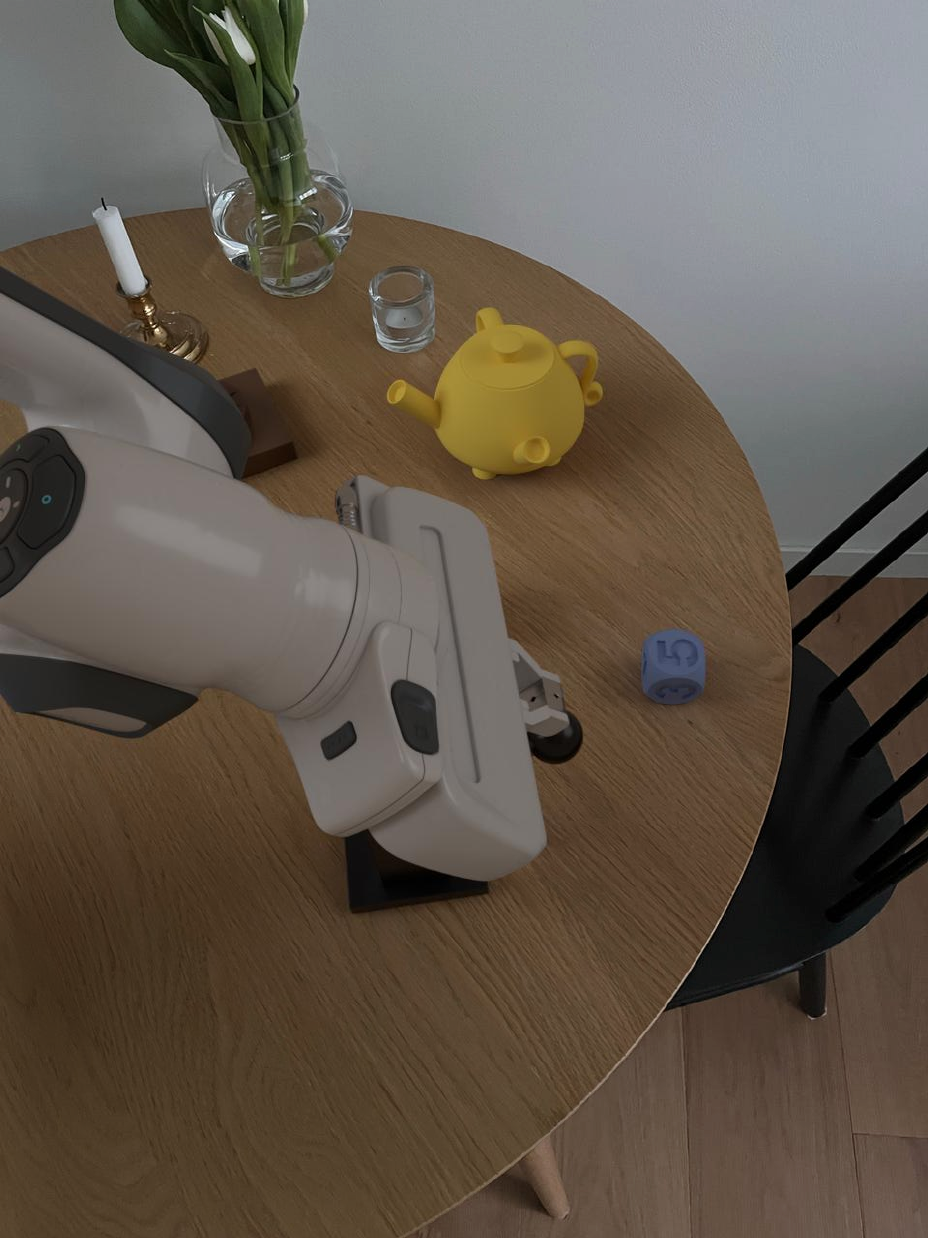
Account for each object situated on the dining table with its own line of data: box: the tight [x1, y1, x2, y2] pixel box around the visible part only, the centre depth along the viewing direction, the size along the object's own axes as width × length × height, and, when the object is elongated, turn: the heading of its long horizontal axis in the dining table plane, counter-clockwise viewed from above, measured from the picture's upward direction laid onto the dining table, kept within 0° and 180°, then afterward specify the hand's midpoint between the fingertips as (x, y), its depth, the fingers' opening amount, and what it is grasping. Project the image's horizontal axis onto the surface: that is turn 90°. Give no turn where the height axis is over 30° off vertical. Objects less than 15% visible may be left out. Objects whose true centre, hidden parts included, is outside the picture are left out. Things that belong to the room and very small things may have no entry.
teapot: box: [386, 306, 604, 481], centre depth 86 cm, size 14×14×11 cm
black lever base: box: [343, 829, 490, 915], centre depth 66 cm, size 9×7×12 cm
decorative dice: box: [640, 628, 707, 705], centre depth 76 cm, size 4×4×4 cm
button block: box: [217, 367, 298, 479], centre depth 91 cm, size 12×10×4 cm
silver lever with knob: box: [527, 709, 584, 765], centre depth 61 cm, size 13×3×3 cm, turn 98°
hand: (556, 707), depth 57 cm, fingers closed
